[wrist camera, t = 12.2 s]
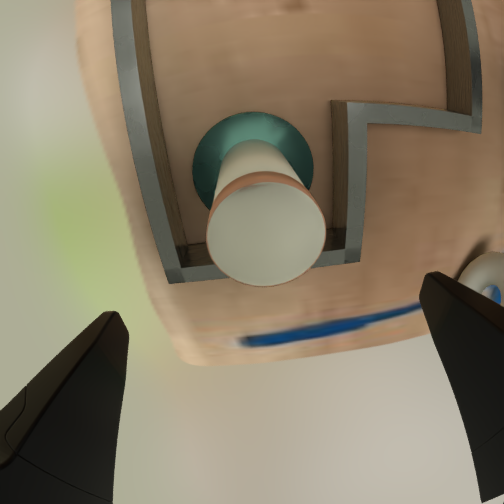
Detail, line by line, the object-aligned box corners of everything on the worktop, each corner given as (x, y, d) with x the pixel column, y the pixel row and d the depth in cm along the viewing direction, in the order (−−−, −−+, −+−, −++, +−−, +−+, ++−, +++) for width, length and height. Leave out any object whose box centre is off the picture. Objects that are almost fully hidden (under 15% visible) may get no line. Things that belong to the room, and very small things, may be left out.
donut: (448, 308, 27) (488, 371, 19) (432, 304, 27) (474, 373, 18) (494, 238, 22) (549, 294, 14) (480, 229, 22) (542, 288, 13)
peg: (285, 135, 17) (326, 175, 9) (289, 199, 19) (324, 279, 12) (214, 143, 17) (195, 189, 9) (224, 207, 19) (217, 292, 12)
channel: (414, -92, 4) (430, -102, 2) (443, 229, 22) (461, 246, 19) (128, -100, 5) (117, -116, 2) (176, 260, 22) (168, 283, 19)
